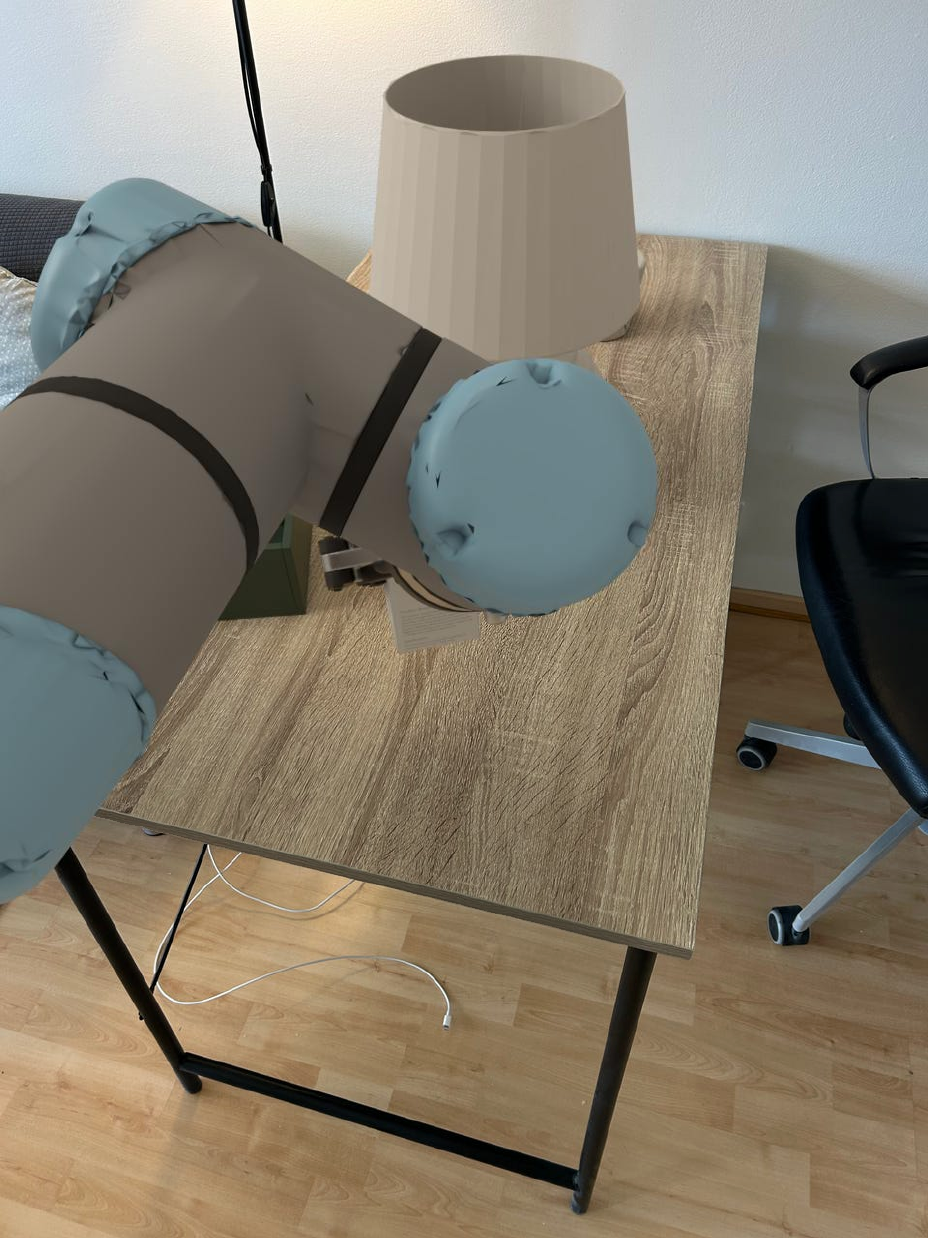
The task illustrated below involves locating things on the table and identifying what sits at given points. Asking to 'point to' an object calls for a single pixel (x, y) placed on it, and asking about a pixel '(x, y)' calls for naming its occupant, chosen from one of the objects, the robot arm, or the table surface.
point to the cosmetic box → (425, 622)
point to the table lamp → (507, 206)
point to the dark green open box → (276, 576)
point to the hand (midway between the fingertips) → (418, 558)
